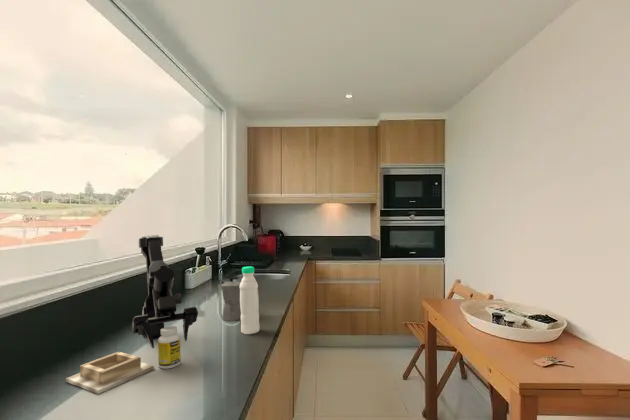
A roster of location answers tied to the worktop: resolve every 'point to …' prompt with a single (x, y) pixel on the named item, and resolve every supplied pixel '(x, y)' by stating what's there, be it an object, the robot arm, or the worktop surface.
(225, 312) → the coffeepot
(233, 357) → the worktop surface
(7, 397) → the worktop surface
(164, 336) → the pill bottle
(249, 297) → the water bottle
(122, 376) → the socket
